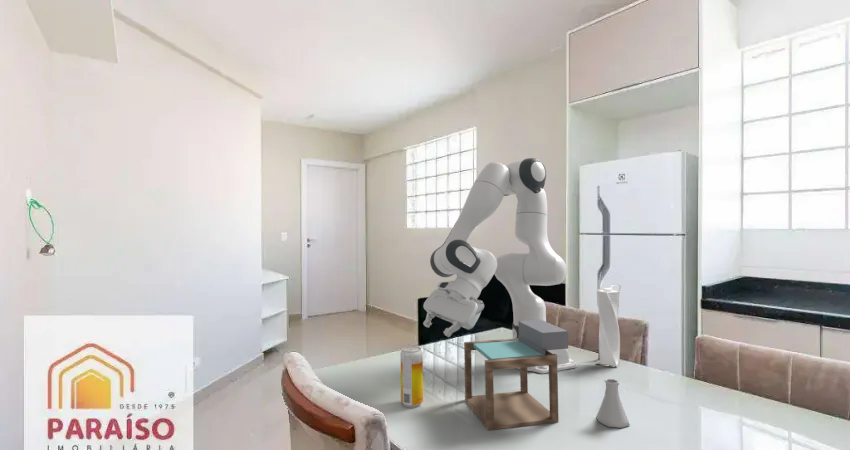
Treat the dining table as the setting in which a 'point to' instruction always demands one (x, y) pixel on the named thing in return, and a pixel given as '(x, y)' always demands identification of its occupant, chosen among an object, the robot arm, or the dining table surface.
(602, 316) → the skyscraper
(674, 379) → the dining table surface
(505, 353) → the trapdoor
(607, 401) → the flask
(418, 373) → the beer can
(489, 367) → the stand
